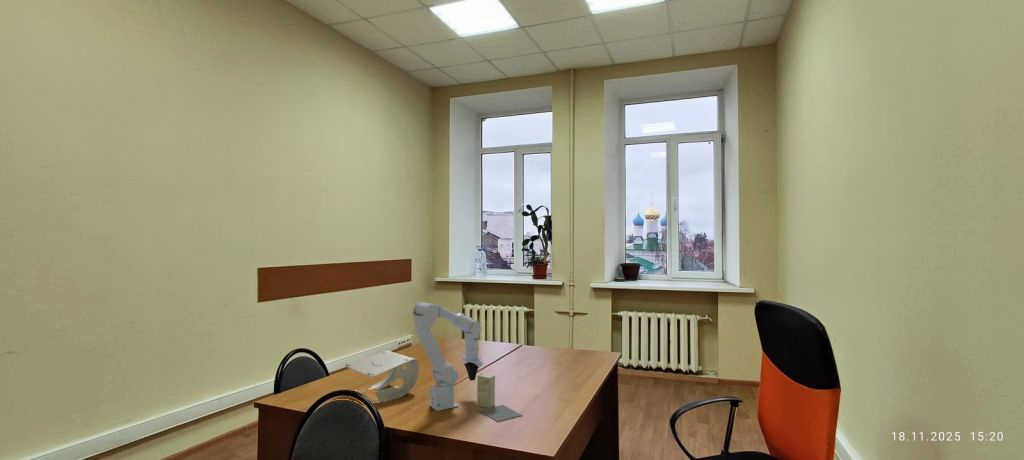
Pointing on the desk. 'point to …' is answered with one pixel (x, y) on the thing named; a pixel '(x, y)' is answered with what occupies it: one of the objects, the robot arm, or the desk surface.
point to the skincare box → (486, 390)
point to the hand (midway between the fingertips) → (472, 380)
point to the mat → (500, 413)
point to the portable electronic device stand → (395, 366)
